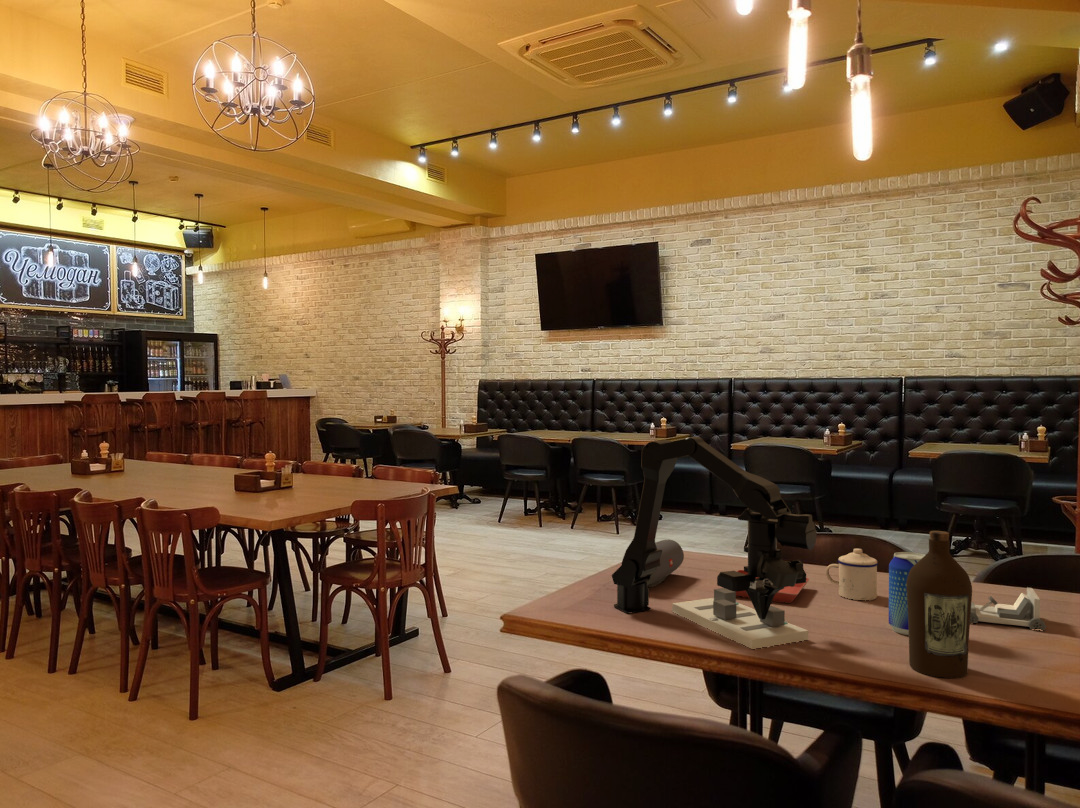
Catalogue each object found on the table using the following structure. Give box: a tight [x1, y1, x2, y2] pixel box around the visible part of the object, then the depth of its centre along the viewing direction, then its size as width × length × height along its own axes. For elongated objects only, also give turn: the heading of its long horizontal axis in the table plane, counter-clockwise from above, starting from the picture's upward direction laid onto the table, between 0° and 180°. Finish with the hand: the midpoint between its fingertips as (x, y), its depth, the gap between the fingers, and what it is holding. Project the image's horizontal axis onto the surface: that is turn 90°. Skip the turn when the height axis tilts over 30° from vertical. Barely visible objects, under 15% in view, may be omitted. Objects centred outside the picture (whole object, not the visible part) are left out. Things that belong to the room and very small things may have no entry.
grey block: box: [713, 587, 737, 604], centre depth 176 cm, size 3×4×3 cm
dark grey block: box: [760, 605, 786, 627], centre depth 161 cm, size 3×4×3 cm
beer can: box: [888, 551, 926, 636], centre depth 163 cm, size 8×8×16 cm
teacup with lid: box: [825, 548, 879, 602], centre depth 191 cm, size 12×9×12 cm
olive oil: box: [906, 530, 973, 679], centre depth 141 cm, size 11×11×25 cm
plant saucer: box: [736, 569, 810, 604], centre depth 195 cm, size 18×18×3 cm
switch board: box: [671, 597, 809, 650], centre depth 167 cm, size 14×28×2 cm, turn 24°
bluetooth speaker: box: [646, 539, 685, 588], centre depth 204 cm, size 23×9×10 cm, turn 150°
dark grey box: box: [713, 599, 736, 620], centre depth 166 cm, size 3×4×3 cm
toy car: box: [970, 587, 1047, 631], centre depth 172 cm, size 18×10×12 cm
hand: (762, 619), depth 160 cm, fingers closed
